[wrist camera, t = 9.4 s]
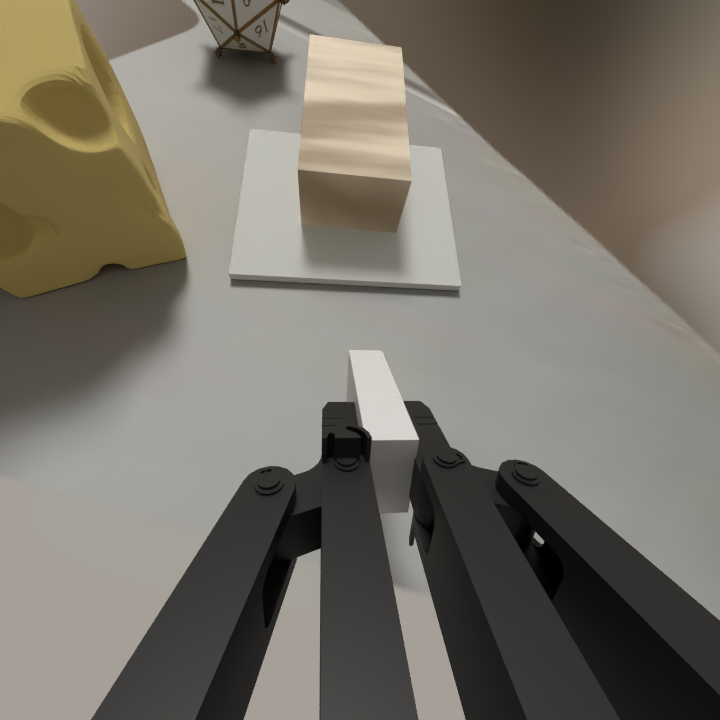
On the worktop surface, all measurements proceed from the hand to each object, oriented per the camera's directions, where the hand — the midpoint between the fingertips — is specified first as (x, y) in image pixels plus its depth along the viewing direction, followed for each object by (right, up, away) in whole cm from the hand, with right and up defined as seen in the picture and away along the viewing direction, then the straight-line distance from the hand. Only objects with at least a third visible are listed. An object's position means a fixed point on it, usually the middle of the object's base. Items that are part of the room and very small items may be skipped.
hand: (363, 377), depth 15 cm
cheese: (-19, +10, +8) cm, 23 cm away
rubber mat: (-1, +13, +10) cm, 16 cm away
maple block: (-1, +11, +7) cm, 13 cm away
